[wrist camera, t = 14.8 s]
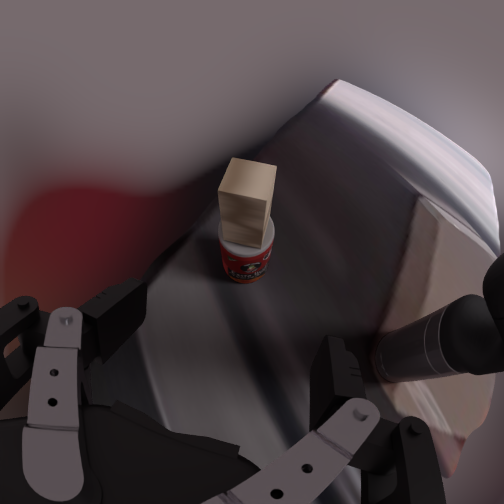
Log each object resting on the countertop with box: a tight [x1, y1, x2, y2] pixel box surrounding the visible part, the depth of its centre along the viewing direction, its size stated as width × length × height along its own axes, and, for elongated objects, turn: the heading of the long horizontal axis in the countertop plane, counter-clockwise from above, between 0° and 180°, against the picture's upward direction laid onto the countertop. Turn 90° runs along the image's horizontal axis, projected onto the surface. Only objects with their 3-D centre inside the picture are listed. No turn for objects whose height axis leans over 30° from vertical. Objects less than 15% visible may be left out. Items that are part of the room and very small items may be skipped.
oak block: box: [218, 158, 277, 249], centre depth 32 cm, size 5×5×10 cm
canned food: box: [218, 216, 274, 283], centre depth 41 cm, size 8×8×11 cm
